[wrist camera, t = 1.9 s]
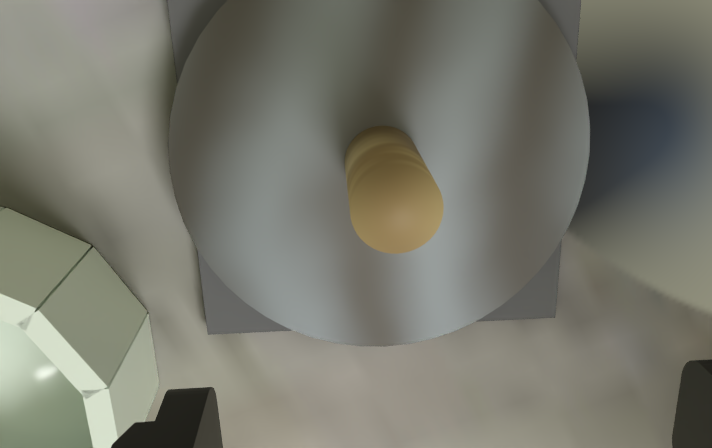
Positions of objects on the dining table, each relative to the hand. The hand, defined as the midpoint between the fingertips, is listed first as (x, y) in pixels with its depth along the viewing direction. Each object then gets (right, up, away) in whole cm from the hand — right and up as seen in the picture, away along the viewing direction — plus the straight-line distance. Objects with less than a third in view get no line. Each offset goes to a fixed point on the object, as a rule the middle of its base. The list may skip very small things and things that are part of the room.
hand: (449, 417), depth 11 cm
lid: (-1, +6, +16) cm, 18 cm away
